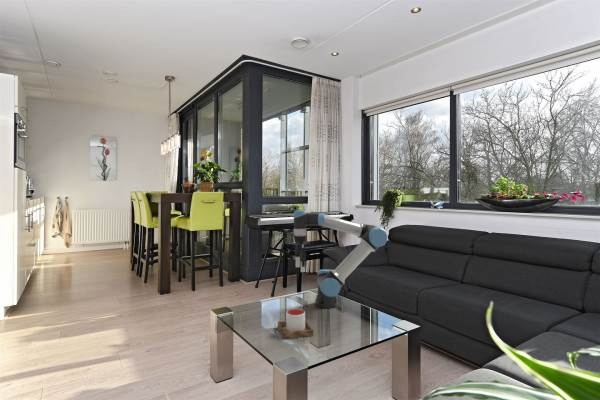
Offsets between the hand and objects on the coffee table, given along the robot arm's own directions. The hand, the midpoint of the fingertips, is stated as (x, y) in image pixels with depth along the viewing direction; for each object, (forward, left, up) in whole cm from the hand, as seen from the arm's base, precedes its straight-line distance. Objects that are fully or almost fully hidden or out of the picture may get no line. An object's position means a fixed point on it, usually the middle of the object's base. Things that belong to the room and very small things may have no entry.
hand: (300, 269), depth 219 cm
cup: (+10, +28, -26) cm, 40 cm away
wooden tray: (+10, +28, -27) cm, 40 cm away
